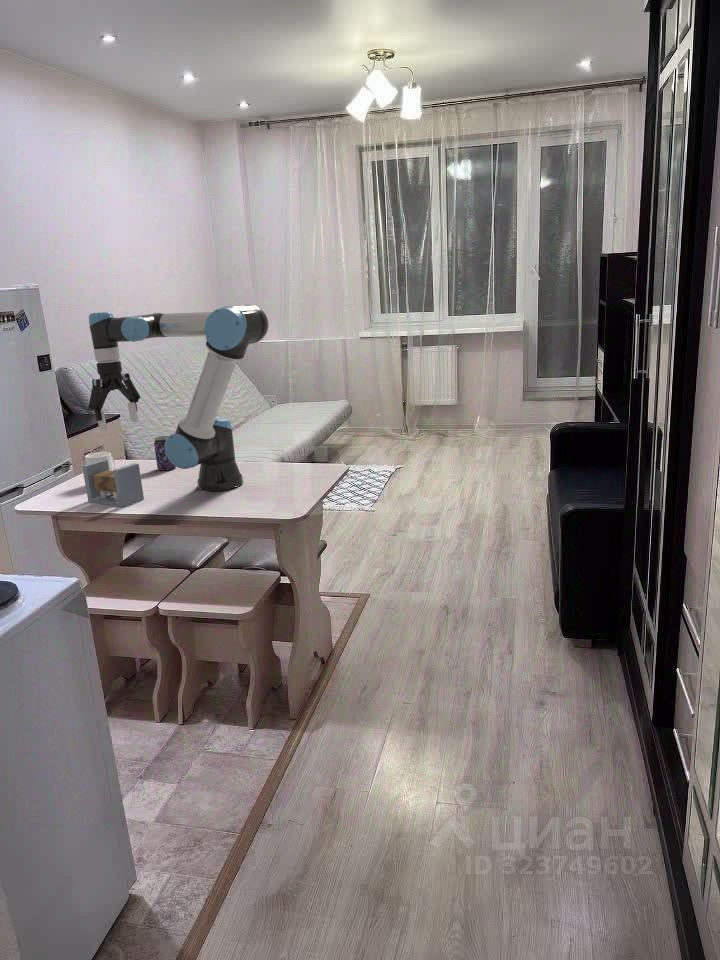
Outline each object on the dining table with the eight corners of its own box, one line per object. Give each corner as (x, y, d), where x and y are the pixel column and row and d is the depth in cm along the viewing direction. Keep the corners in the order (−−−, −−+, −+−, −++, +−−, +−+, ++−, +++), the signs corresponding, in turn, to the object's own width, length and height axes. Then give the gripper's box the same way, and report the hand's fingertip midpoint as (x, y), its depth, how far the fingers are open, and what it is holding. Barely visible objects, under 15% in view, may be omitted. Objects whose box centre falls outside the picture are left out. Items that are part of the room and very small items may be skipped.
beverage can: (153, 470, 268) (149, 439, 265) (165, 465, 275) (161, 435, 271) (169, 471, 266) (165, 440, 262) (180, 466, 272) (176, 435, 269)
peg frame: (144, 499, 233) (138, 463, 229) (123, 507, 226) (117, 470, 223) (109, 493, 242) (103, 459, 238) (88, 501, 235) (82, 465, 231)
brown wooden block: (95, 490, 232) (92, 475, 231) (108, 485, 237) (106, 470, 236) (118, 492, 228) (115, 477, 227) (131, 487, 233) (129, 472, 232)
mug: (126, 478, 260) (122, 449, 257) (104, 487, 250) (99, 458, 247) (107, 477, 263) (103, 449, 260) (84, 486, 253) (79, 457, 250)
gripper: (128, 356, 243) (138, 418, 249) (68, 366, 222) (81, 433, 228) (144, 356, 239) (154, 418, 245) (85, 366, 218) (97, 434, 224)
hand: (119, 426), depth 236 cm, fingers open, 13 cm apart
